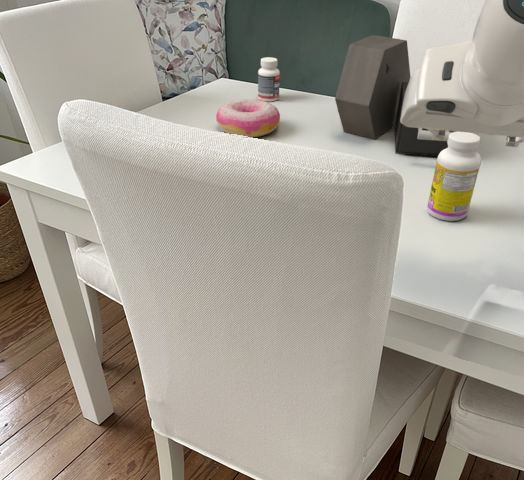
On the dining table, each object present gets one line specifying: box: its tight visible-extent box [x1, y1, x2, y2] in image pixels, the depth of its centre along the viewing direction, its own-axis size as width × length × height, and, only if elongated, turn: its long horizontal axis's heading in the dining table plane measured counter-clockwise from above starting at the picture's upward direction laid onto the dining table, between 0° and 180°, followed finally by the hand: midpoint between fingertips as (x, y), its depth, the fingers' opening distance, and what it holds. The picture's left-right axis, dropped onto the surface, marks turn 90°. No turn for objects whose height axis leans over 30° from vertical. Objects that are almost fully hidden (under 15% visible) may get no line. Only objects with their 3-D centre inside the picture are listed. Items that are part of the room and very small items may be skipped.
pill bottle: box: [257, 56, 281, 102], centre depth 138 cm, size 5×5×9 cm
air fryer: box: [394, 82, 439, 157], centre depth 116 cm, size 15×13×10 cm
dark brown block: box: [334, 34, 411, 140], centre depth 119 cm, size 17×8×21 cm
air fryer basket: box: [399, 125, 458, 154], centre depth 113 cm, size 18×11×8 cm, turn 170°
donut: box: [215, 98, 281, 138], centre depth 123 cm, size 14×13×5 cm
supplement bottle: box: [426, 132, 482, 222], centre depth 91 cm, size 7×7×13 cm
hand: (474, 138), depth 76 cm, fingers open, 8 cm apart
